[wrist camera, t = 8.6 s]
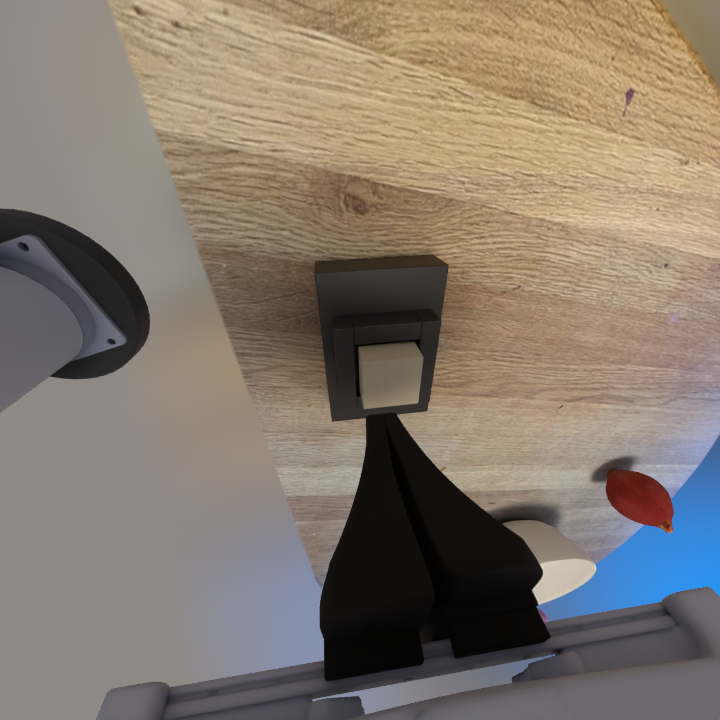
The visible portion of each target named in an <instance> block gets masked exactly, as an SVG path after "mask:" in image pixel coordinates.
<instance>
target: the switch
mask: <svg viewBox="0 0 720 720" xmlns="http://www.w3.org/2000/svg"><path fill="white" fill-rule="evenodd" d="M358 355H359V384H360V394H361V399H362V404H363V408H364V409H370V408H379V407H388V406H398V405H407V404H416V403H418V400H419V391H420V383H421V375H422V366H423V358H424V357H423V355H422V354H421V352H420V350H419V349H418V347H417V345H416V344H415V342H414V341H411V342H399V343H388V344H376V345H365V346H359V347H358Z"/></svg>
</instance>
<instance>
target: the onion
mask: <svg viewBox="0 0 720 720" xmlns="http://www.w3.org/2000/svg"><path fill="white" fill-rule="evenodd" d="M606 494H607V497H608V500H609V501H610V503H611V505H612V506H613V507H614V508H615V509H616V510H617V511H618V512H619V513H621V514H622V515H623V516H625V517H627V518H629V519H631V520H633V521H635V522H638V523H641V524H644V525H649V526H656V527H659V528H661V529H663V530H664V531H665V532H666V533H671V532H673V528H672V517H673V512H674V510H673V506H672V502H671V498H670V496H669V494H668V492H667V491H666V490H665V488H664V487H663V486H662V485H661V484H660V483H659V482H658V481H656V480H655V479H653V478H651V477H650V476H647V475H644V474H642V473H639V472H635V471H628V470H617V469H611V470H609V471H608V473H607V483H606Z"/></svg>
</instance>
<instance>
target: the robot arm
mask: <svg viewBox="0 0 720 720" xmlns="http://www.w3.org/2000/svg"><path fill="white" fill-rule="evenodd" d="M24 243H25V244H26V245H27V246H28V247H29V249H27V248H26V247H25V246H24ZM111 339H113V340H115V342H113V341H112V340H111ZM127 341H128V337H127V336H126V335H125V333H124V332H123V331H122V330H121V329H120V328H119V327H118V325H117V324H116V323H115V322H114V321H113V320H112V319H111V318H110V316H109V315H108V314H107V313H106V312H105V311H104V310H103V308H102V307H101V306H100V305H99V304H98V303H97V302H96V300H95V299H94V298H93V297H92V296H91V295H90V294H89V292H88V291H87V290H86V289H85V288H84V287H83V286H82V284H81V283H80V282H79V281H78V280H77V279H76V278H75V277H74V275H73V274H72V273H71V272H70V271H69V270H68V269H67V267H66V266H65V265H64V264H63V263H62V262H61V261H60V259H59V258H58V257H57V256H56V255H55V254H54V253H53V251H52V250H51V249H50V248H49V247H48V246H47V245H46V243H45V242H44V241H43V240H42V239H41V238H39V237H38V236H36V235H32V234H29V235H24V236H21V237H18V238H15V239H12V240H9V241H6V242H3V243H0V412H2V411H3V410H4V409H6V408H7V407H9V406H10V405H11V404H13V403H14V402H15V401H17V400H18V399H19V398H21V397H22V396H23V395H25V394H26V393H27V392H29V391H30V390H32V389H33V388H34V387H36V386H37V385H38V384H40V383H41V382H42V381H44V380H45V379H46V378H48V377H49V376H51V375H52V374H53V373H55V372H56V371H57V370H59V369H60V368H61V367H63V366H64V365H65V364H67V363H68V362H71V361H74V360H77V359H80V358H83V357H86V356H89V355H92V354H96V353H99V352H102V351H105V350H108V349H111V348H114V347H118V346H121V345H123V344H125V343H126V342H127ZM542 576H543V569H542V567H541V566H540V564H539V562H538V560H537V559H536V557H535V555H534V554H533V552H532V551H531V549H530V548H529V547H528V545H527V544H526V542H525V541H524V539H523V538H522V537H520V536H519V535H517V534H516V533H514V532H513V531H511V530H510V529H509V528H507V527H506V526H504V525H503V524H502V523H500V522H499V521H497V520H496V519H495V518H493V517H492V516H491V515H490V514H488V513H487V512H486V511H484V510H483V509H482V508H480V507H479V506H478V505H477V504H476V503H475V502H473V501H472V500H471V499H470V498H469V497H467V496H466V495H465V494H464V493H463V492H462V491H460V490H459V489H458V488H457V487H456V486H455V485H454V484H453V483H452V482H451V481H450V480H449V479H448V478H447V477H446V476H445V475H444V474H443V473H442V472H441V471H440V470H439V469H438V468H437V467H436V466H435V465H434V464H433V463H432V461H431V460H430V459H429V458H428V457H427V456H426V455H425V453H424V452H423V451H422V450H421V448H420V447H419V446H418V445H417V443H416V442H415V441H414V440H413V438H412V437H411V436H410V434H409V433H408V431H407V430H406V429H405V427H404V426H403V424H402V423H401V421H400V419H399V418H398V416H397V414H396V413H394V412H393V413H383V414H374V415H368V416H367V417H366V451H365V458H364V463H363V468H362V473H361V477H360V481H359V485H358V489H357V492H356V495H355V499H354V502H353V505H352V508H351V511H350V514H349V517H348V520H347V522H346V525H345V528H344V530H343V533H342V536H341V538H340V540H339V543H338V545H337V547H336V550H335V552H334V554H333V557H332V559H331V561H330V564H329V568H328V572H327V575H326V579H325V583H324V586H323V590H322V595H321V600H320V629H321V632H322V635H323V638H324V661H319V662H314V663H308V664H302V665H296V666H290V667H285V668H279V669H273V670H267V671H261V672H256V673H250V674H244V675H239V676H233V677H227V678H221V679H215V680H210V681H204V682H198V683H192V684H187V685H181V686H175V687H169V685H167V684H166V683H163V682H149V683H143V684H137V685H131V686H125V687H119V688H114V689H111V690H110V691H109V692H108V693H107V694H106V697H105V699H104V701H103V704H102V706H101V709H100V711H99V713H98V716H97V718H96V720H720V597H719V596H718V595H717V594H716V593H715V592H714V591H713V589H711V588H709V587H703V588H697V589H691V590H686V591H680V592H676V593H674V594H671V595H669V596H667V597H665V598H664V599H663V600H662V602H659V603H653V604H647V605H641V606H636V607H630V608H624V609H618V610H613V611H607V612H602V613H595V614H590V615H584V616H578V617H572V618H567V619H561V620H555V621H550V622H543V620H542V618H541V616H540V614H539V612H538V610H537V608H536V606H537V605H538V601H537V599H536V597H535V595H534V593H533V591H532V590H533V588H534V587H535V586H536V585H537V584H538V582H539V581H540V580H541V578H542ZM420 633H421V639H422V644H421V641H420V636H419V635H420ZM554 654H555V656H553V657H549V658H546V659H543V660H539V661H536V662H533V663H530V664H529V665H528V668H527V669H525V670H524V671H523V672H521V673H519V674H517V675H515V676H513V677H512V682H513V683H511V684H504V685H498V686H493V687H487V688H481V689H476V690H471V691H466V692H461V693H456V694H451V695H446V696H442V697H437V698H433V699H428V700H424V701H420V702H415V703H411V704H407V705H403V706H399V707H395V708H391V709H386V710H382V711H379V712H374V713H370V714H366V715H365V713H364V708H363V707H362V705H361V699H360V698H359V697H358V696H357V697H356V696H355V697H339V698H327V699H321V700H317V701H314V702H313V701H312V700H311V699H315V698H321V697H326V696H332V695H336V694H342V693H348V692H353V691H359V690H364V689H369V688H375V687H380V686H386V685H391V684H397V683H402V682H407V681H413V680H418V679H424V678H429V677H434V676H440V675H445V674H450V673H456V672H462V671H467V670H473V669H478V668H483V667H489V666H494V665H500V664H505V663H510V662H516V661H521V660H527V659H531V658H537V657H543V656H548V655H554Z"/></svg>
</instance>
